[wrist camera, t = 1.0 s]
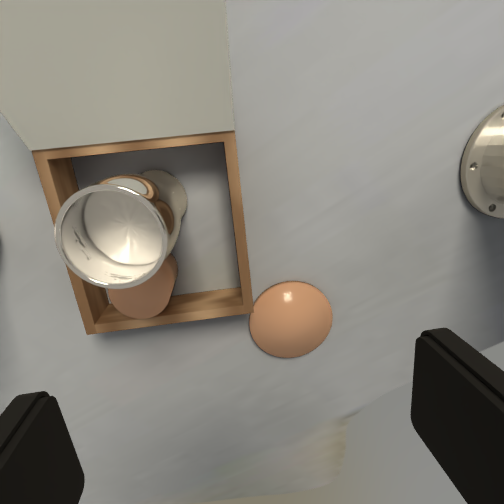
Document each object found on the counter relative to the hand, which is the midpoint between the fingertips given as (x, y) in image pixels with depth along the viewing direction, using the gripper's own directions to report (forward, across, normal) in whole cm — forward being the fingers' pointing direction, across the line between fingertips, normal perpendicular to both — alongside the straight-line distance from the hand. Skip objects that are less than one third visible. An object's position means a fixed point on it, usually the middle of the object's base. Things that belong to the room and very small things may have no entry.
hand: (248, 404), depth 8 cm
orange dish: (+28, -6, +14) cm, 32 cm away
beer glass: (+28, +6, -2) cm, 29 cm away
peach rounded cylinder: (+28, +8, +6) cm, 30 cm away
